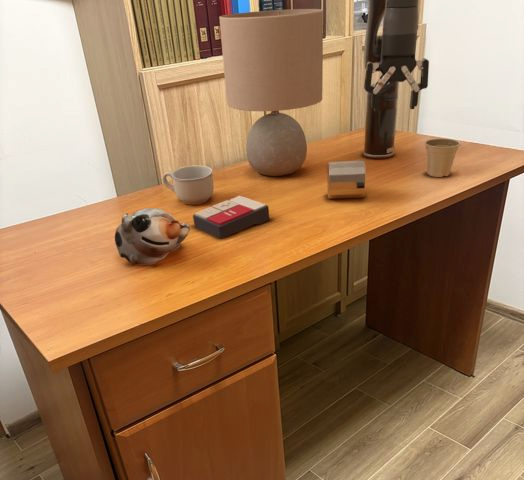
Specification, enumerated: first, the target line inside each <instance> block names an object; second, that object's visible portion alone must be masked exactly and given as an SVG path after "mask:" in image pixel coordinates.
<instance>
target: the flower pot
mask: <svg viewBox="0 0 524 480" xmlns="http://www.w3.org/2000/svg"><path fill="white" fill-rule="evenodd" d="M424 146H425V149H426V175H429V176H430V177H435V178H443V177H448V176H450V174H451V171H452V167H453V164H454V161H455V158H456V154H457V151H458V149H459V147H460V146H461V142H460V141H459V140H457V139H452V138H431V139H427V140H425V141H424Z"/></svg>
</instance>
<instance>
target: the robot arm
mask: <svg viewBox="0 0 524 480" xmlns="http://www.w3.org/2000/svg"><path fill="white" fill-rule="evenodd" d="M419 5H420V0H368V7H367V8H368V9H367V20H366V29H365V37H364V46H363V47H364V48H363V67H364V70H365V74H364V84H363V89H364V90H365V92H366V103H365V104H366V107H365V126H364V129H365V130H364V146H363V157H365V158H367V159H368V158H369V159H374V160H376V159H378V160H380V159H381V160H383V159H388V158H391V157H393V156H394V155H395V139H396V127H397V115H398V101H399V87H400V83H404V82H405V81H407V84H408V85H409V86H410V88H411V89H412V90H411V91H410V100H409V109H410V110H415V108H416V107H418V105H419V104H418V103H419V93H420V92H421V91H422V90H425V89H427V88H428V86H429V68H430V61H429V59H427V58H422V59H416V51H417V41H418V40H417V38H418V31H419V7H420V6H419ZM381 25H382V33H381V34H380V35H378V33H379V30H380V26H381ZM416 67H417V68H418V70H419V71H420V82H419V83H417V82H416V80H415V78H414V76H413V75H412V73H413V71H414V70H415V69H416ZM376 72H377V73H378V72H379V73H381V75H379V76H378V79H377V80H376V82H375V83H372V79H373V74H374V73H376Z"/></svg>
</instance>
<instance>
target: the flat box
mask: <svg viewBox="0 0 524 480" xmlns="http://www.w3.org/2000/svg"><path fill="white" fill-rule="evenodd" d="M192 219H193V224H194V225H193V226H194V227H195V228H197V229H198V230H201V231H203V232H206V233H207V234H209V235H213V236H214V237H217V238H218V239H224V238H226V237H228V236H231V235H233V234H236V233H237V232H240V231H242V230H245V229H247V228H249V227H251V226H254V225H258V226H259V225H261V224H263V223H266V222H267V221H268V222H269V221H270V209H269V205H267V204H266V203H263V202H260V201H257V200H254V199H250V198H248V197H245V196H243V195H238V196H235V197H233V198H230V199H226V200H224V201H221V202H219V203H216V204H214V205H212V206H209V207H206V208H203V209H200V210H198V211H195V213H194V214H193V215H192Z"/></svg>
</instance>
